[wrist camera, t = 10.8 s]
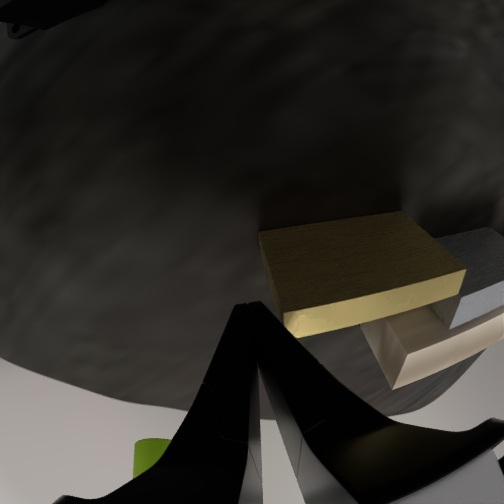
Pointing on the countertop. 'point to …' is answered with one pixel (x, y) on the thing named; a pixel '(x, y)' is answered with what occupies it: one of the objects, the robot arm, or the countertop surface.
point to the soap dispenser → (148, 453)
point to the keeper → (354, 271)
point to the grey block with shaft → (474, 276)
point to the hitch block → (427, 342)
